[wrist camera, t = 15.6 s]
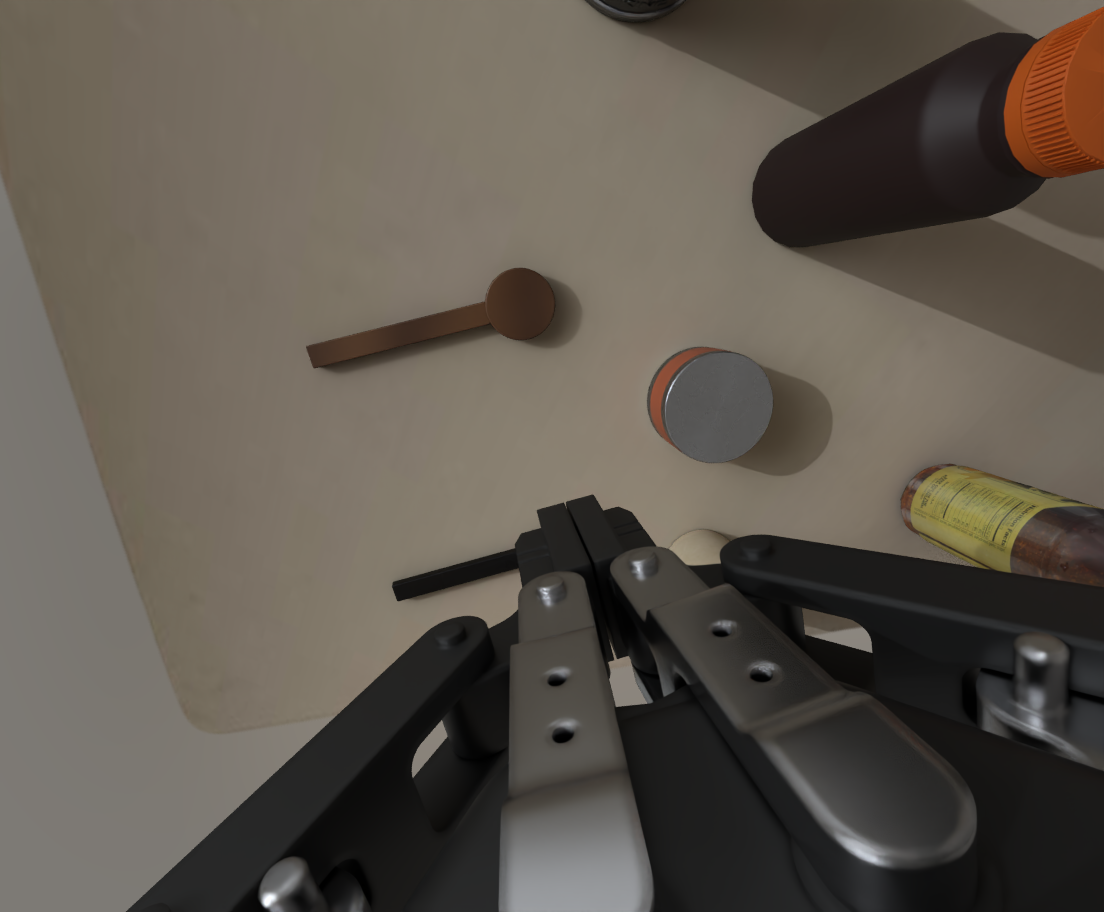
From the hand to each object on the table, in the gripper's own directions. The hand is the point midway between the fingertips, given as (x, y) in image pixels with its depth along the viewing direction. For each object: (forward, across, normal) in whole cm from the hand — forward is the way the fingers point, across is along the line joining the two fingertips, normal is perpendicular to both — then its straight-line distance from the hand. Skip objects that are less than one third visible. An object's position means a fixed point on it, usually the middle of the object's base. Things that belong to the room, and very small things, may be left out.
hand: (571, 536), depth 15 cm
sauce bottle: (+25, -30, +17) cm, 42 cm away
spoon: (+25, +4, -5) cm, 26 cm away
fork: (+25, +2, +12) cm, 28 cm away
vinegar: (+25, -22, -7) cm, 34 cm away
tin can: (+25, -12, +4) cm, 28 cm away
